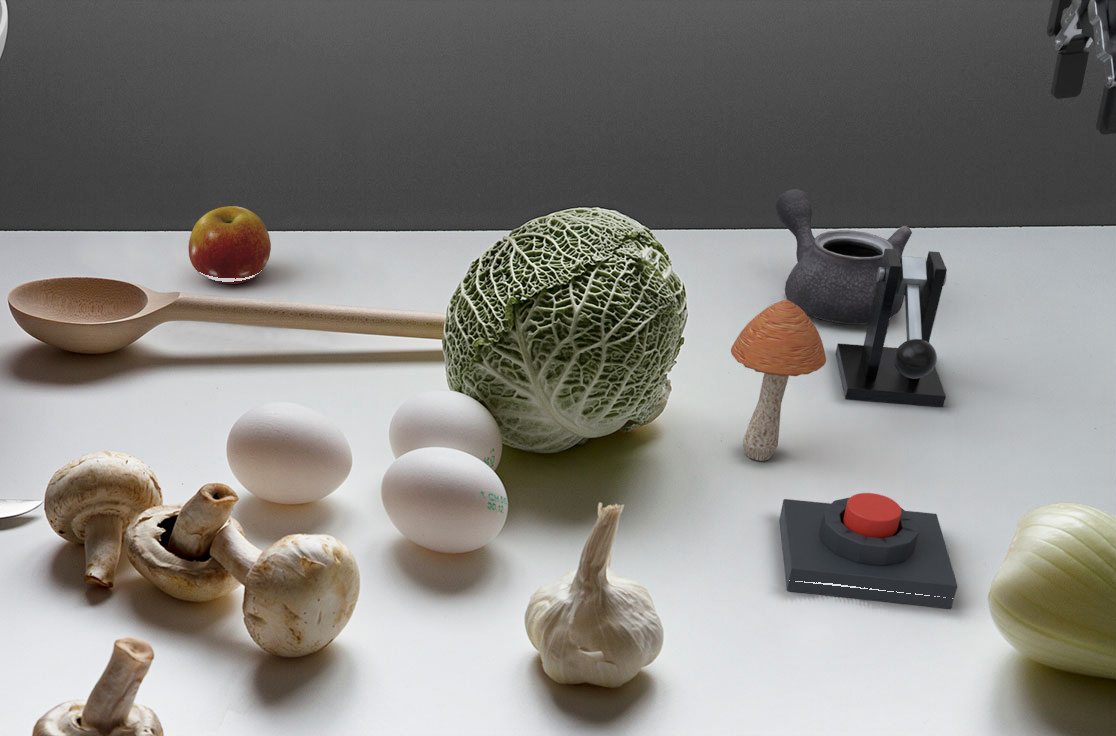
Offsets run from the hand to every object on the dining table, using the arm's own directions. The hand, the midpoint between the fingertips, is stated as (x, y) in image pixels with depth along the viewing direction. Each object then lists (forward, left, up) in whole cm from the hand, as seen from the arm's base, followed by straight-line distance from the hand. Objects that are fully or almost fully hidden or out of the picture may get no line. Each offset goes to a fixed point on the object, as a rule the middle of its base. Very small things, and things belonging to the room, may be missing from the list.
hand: (1087, 113), depth 105 cm
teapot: (+13, -28, -29) cm, 42 cm away
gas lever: (+9, -4, -22) cm, 24 cm away
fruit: (+81, -21, -29) cm, 88 cm away
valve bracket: (+9, -8, -29) cm, 31 cm away
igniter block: (+15, +25, -29) cm, 41 cm away
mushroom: (+22, +9, -29) cm, 38 cm away
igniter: (+15, +25, -26) cm, 39 cm away
